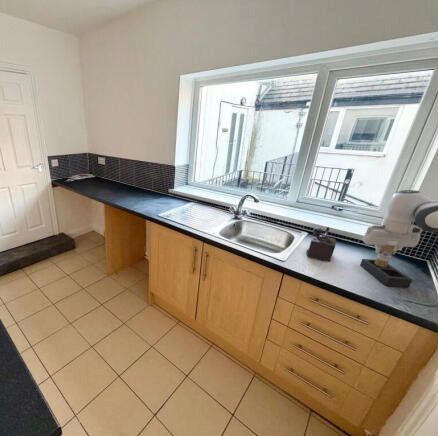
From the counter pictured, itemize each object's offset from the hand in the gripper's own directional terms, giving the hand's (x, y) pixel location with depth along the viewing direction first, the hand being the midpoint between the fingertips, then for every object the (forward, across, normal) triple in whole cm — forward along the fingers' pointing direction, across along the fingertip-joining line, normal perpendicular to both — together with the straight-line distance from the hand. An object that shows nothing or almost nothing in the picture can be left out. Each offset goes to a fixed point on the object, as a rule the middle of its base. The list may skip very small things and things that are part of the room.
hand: (384, 253), depth 112 cm
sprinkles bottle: (+6, 0, 0) cm, 6 cm away
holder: (+10, 0, -4) cm, 10 cm away
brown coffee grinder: (+9, -22, +11) cm, 26 cm away
